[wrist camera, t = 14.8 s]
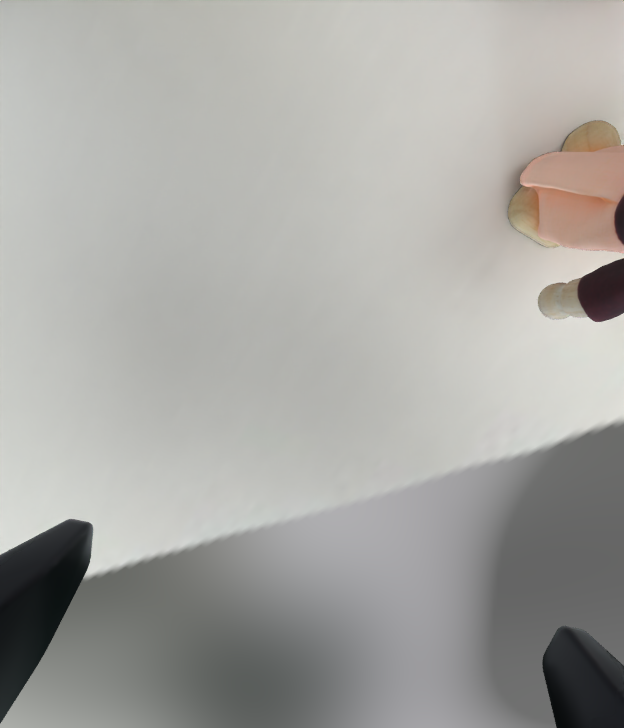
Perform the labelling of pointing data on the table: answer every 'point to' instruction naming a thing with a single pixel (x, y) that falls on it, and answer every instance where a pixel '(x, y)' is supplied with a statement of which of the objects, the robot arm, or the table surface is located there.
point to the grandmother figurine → (578, 217)
